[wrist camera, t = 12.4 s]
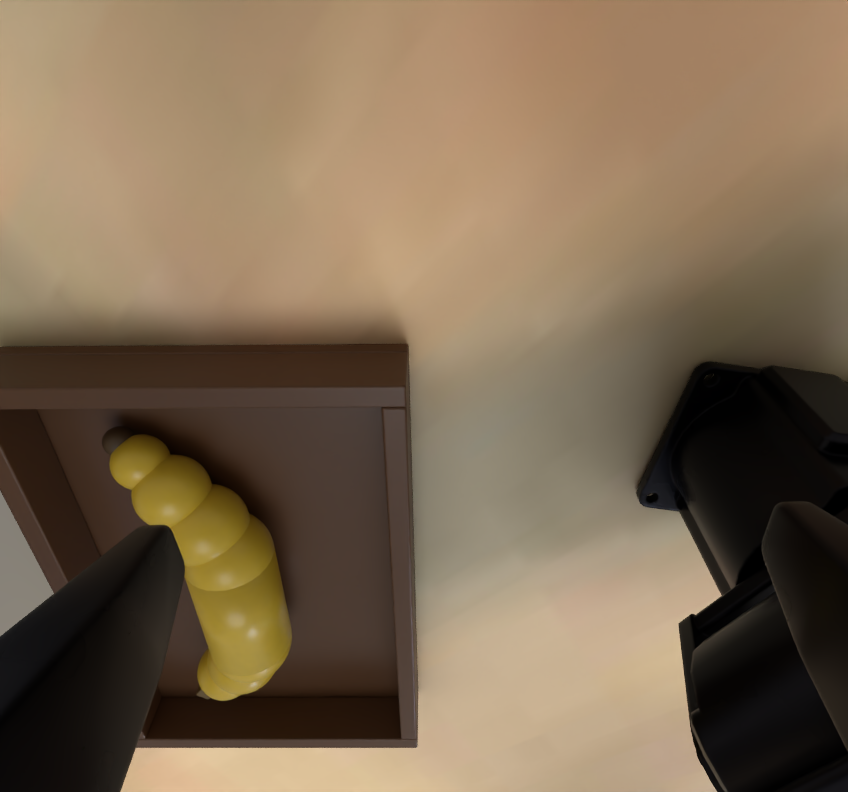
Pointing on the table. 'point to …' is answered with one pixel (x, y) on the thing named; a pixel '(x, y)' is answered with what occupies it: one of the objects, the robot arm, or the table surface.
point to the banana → (212, 562)
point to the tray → (264, 498)
